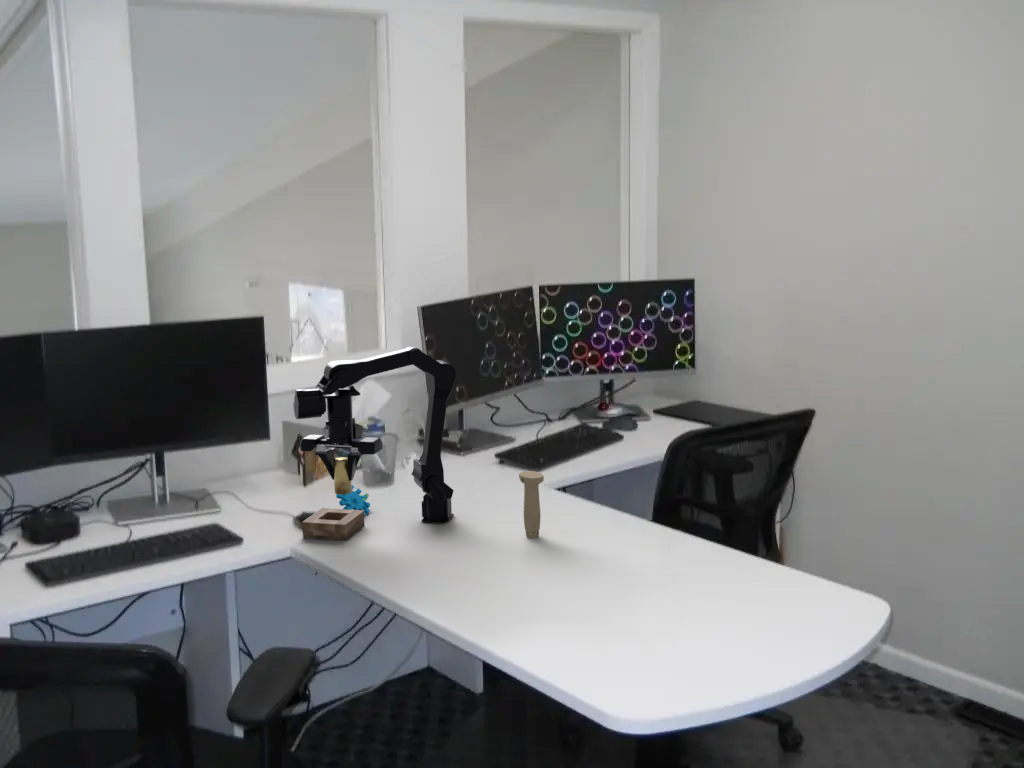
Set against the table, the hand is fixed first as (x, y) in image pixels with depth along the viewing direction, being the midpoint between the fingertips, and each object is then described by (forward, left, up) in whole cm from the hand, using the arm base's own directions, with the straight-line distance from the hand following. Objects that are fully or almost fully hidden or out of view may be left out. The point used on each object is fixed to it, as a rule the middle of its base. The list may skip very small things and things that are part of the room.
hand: (342, 479), depth 237 cm
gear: (+4, -15, -14) cm, 20 cm away
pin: (0, 0, -3) cm, 3 cm away
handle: (-44, -6, -14) cm, 47 cm away
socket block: (+3, 0, -13) cm, 14 cm away
